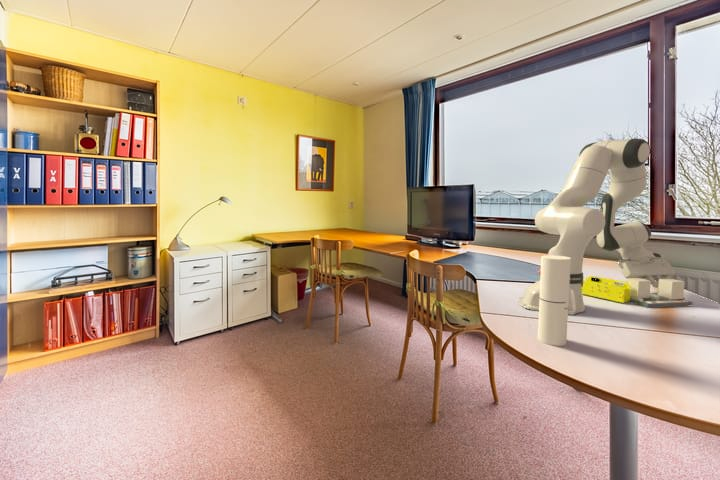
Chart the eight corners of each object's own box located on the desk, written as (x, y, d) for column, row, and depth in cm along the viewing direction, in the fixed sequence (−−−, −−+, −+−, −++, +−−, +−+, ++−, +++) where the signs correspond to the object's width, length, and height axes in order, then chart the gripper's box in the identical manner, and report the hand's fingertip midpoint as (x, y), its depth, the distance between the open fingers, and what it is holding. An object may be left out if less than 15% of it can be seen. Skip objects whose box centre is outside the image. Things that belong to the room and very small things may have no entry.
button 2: (670, 299, 117) (672, 282, 116) (654, 294, 123) (656, 278, 123) (683, 299, 117) (684, 281, 117) (666, 294, 124) (667, 277, 123)
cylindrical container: (532, 336, 92) (535, 255, 90) (554, 334, 93) (558, 254, 90) (548, 346, 85) (552, 259, 83) (572, 345, 86) (577, 258, 83)
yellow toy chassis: (630, 302, 121) (631, 282, 120) (622, 304, 119) (624, 284, 118) (585, 293, 136) (586, 274, 135) (578, 294, 133) (579, 276, 132)
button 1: (637, 298, 119) (638, 281, 118) (623, 294, 125) (624, 277, 125) (649, 298, 119) (650, 280, 119) (634, 293, 126) (635, 277, 125)
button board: (647, 307, 114) (647, 301, 114) (616, 297, 127) (617, 291, 127) (691, 305, 115) (692, 299, 115) (656, 296, 128) (657, 290, 128)
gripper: (620, 255, 129) (640, 283, 121) (665, 254, 130) (688, 281, 122) (610, 263, 134) (629, 291, 126) (654, 262, 135) (675, 289, 127)
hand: (659, 286), depth 124 cm, fingers closed, pressing on button 2
